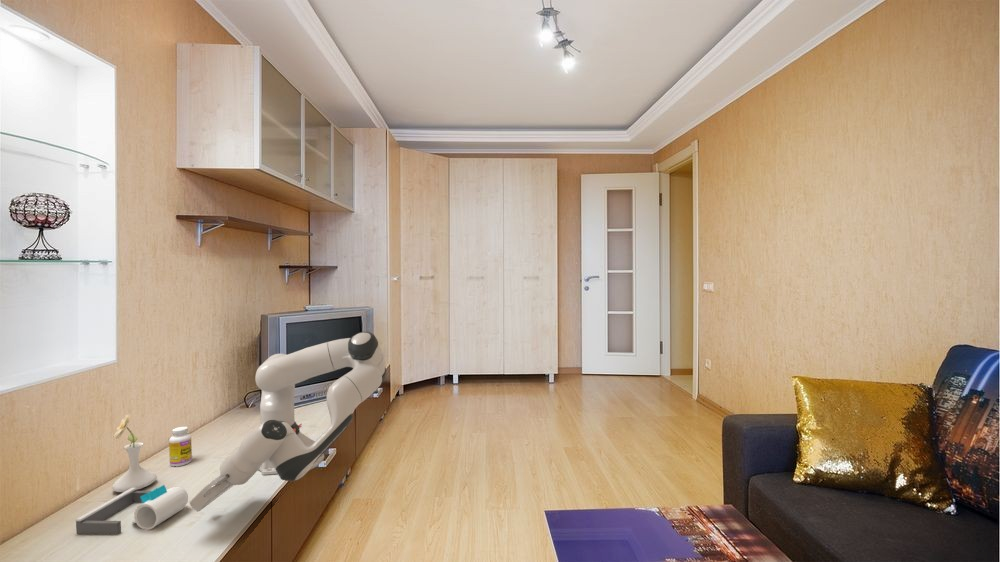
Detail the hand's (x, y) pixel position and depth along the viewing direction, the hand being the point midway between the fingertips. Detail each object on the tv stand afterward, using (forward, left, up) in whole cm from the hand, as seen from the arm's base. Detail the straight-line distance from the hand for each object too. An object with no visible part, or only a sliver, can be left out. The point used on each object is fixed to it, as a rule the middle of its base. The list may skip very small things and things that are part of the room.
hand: (206, 501), depth 127 cm
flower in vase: (+36, -16, -5) cm, 40 cm away
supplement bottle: (+35, -35, -5) cm, 50 cm away
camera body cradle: (+24, 0, -4) cm, 25 cm away
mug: (+14, 0, -5) cm, 15 cm away
